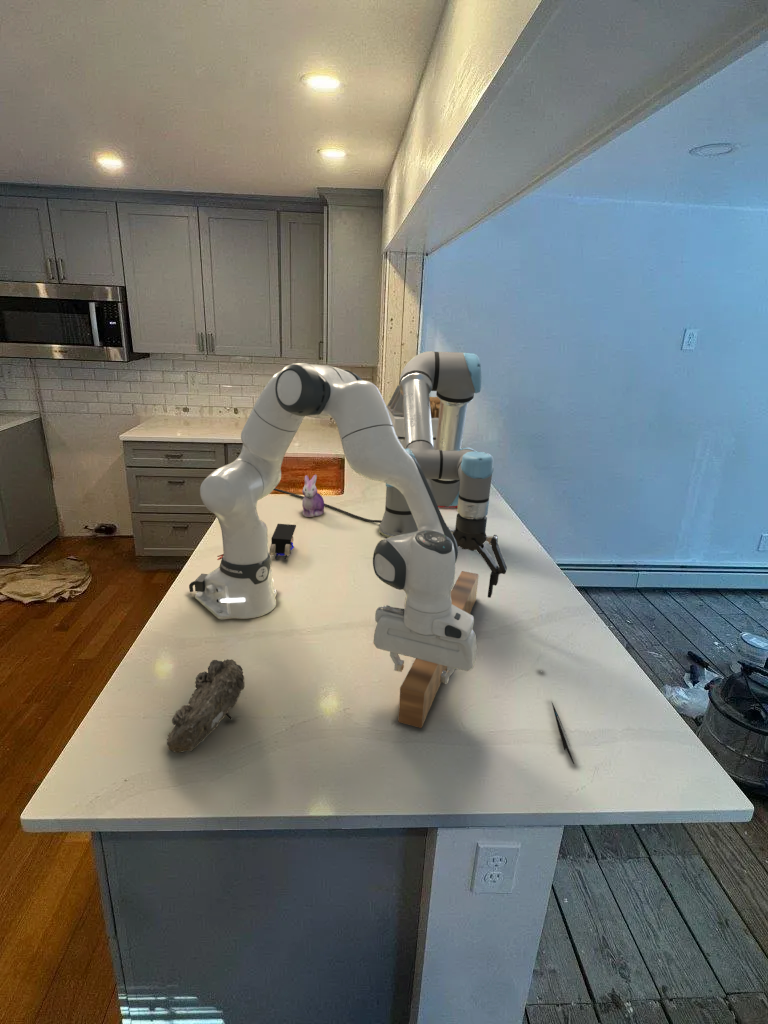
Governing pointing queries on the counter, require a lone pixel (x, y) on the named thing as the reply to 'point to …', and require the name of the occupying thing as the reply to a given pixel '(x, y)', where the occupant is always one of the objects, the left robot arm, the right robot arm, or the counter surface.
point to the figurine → (312, 498)
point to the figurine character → (282, 540)
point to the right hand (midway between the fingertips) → (464, 590)
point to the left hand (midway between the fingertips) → (421, 675)
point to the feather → (562, 734)
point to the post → (426, 674)
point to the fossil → (206, 705)
